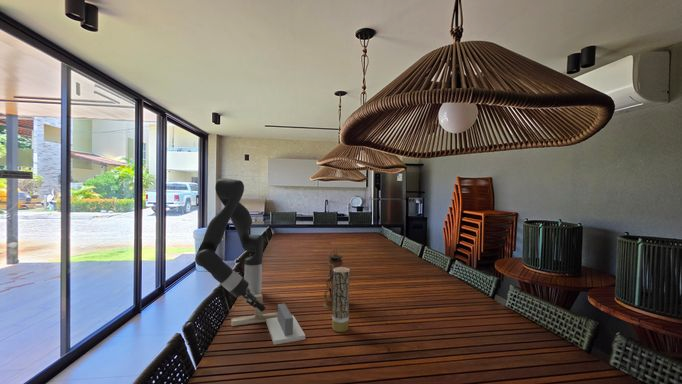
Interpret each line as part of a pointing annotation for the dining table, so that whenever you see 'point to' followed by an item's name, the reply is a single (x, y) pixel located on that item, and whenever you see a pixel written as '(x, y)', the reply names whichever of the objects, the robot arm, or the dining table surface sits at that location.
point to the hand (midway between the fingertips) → (263, 308)
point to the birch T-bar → (257, 315)
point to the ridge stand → (284, 327)
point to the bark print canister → (340, 299)
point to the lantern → (333, 263)
